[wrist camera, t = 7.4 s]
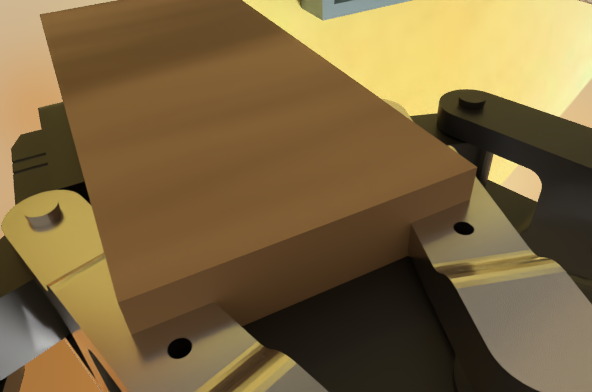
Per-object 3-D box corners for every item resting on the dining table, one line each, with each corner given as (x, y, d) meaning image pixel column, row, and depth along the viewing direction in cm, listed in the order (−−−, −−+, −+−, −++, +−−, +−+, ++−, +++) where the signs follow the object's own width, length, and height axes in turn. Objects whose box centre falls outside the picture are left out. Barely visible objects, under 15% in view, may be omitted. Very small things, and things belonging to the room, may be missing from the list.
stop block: (39, 14, 12) (118, 303, 5) (216, -18, 13) (477, 166, 6) (95, 167, 15) (197, 492, 8) (236, 126, 16) (433, 368, 9)
